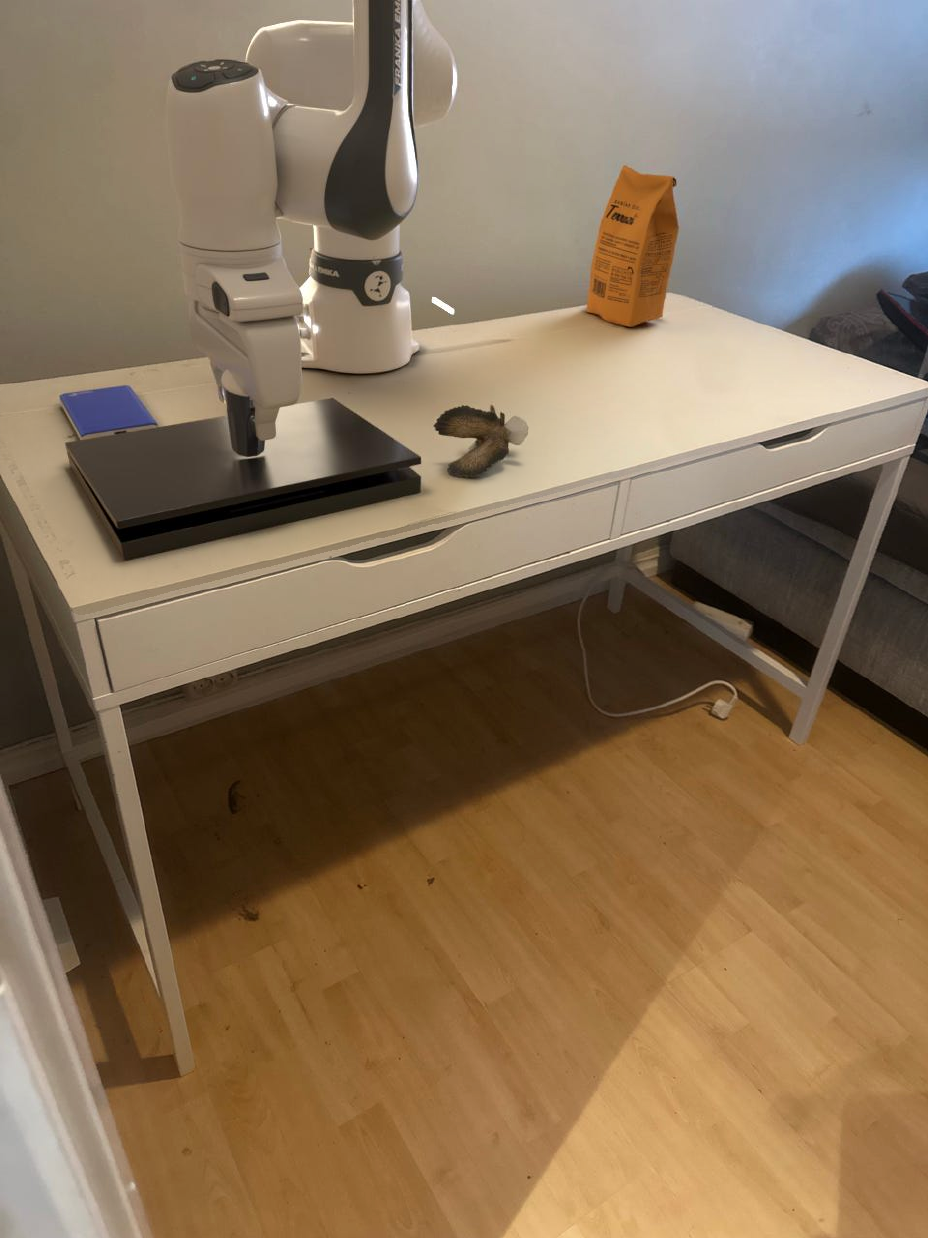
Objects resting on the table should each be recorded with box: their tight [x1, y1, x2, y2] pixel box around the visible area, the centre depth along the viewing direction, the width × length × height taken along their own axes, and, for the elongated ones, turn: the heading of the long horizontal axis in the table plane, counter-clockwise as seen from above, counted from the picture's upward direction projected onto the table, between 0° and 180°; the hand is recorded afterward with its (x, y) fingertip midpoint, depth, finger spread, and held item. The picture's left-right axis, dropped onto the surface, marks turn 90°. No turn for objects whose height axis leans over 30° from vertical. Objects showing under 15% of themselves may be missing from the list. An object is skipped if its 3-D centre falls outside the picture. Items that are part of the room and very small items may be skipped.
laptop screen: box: [64, 397, 422, 529], centre depth 91 cm, size 21×30×1 cm
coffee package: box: [585, 164, 680, 328], centre depth 141 cm, size 10×12×22 cm
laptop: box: [66, 450, 422, 561], centre depth 92 cm, size 21×30×2 cm
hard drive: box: [58, 384, 159, 440], centre depth 102 cm, size 2×8×12 cm
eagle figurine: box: [433, 404, 529, 478], centre depth 97 cm, size 8×7×9 cm
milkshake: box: [221, 370, 265, 457], centre depth 86 cm, size 4×5×10 cm
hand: (246, 419), depth 88 cm, fingers open, 8 cm apart
